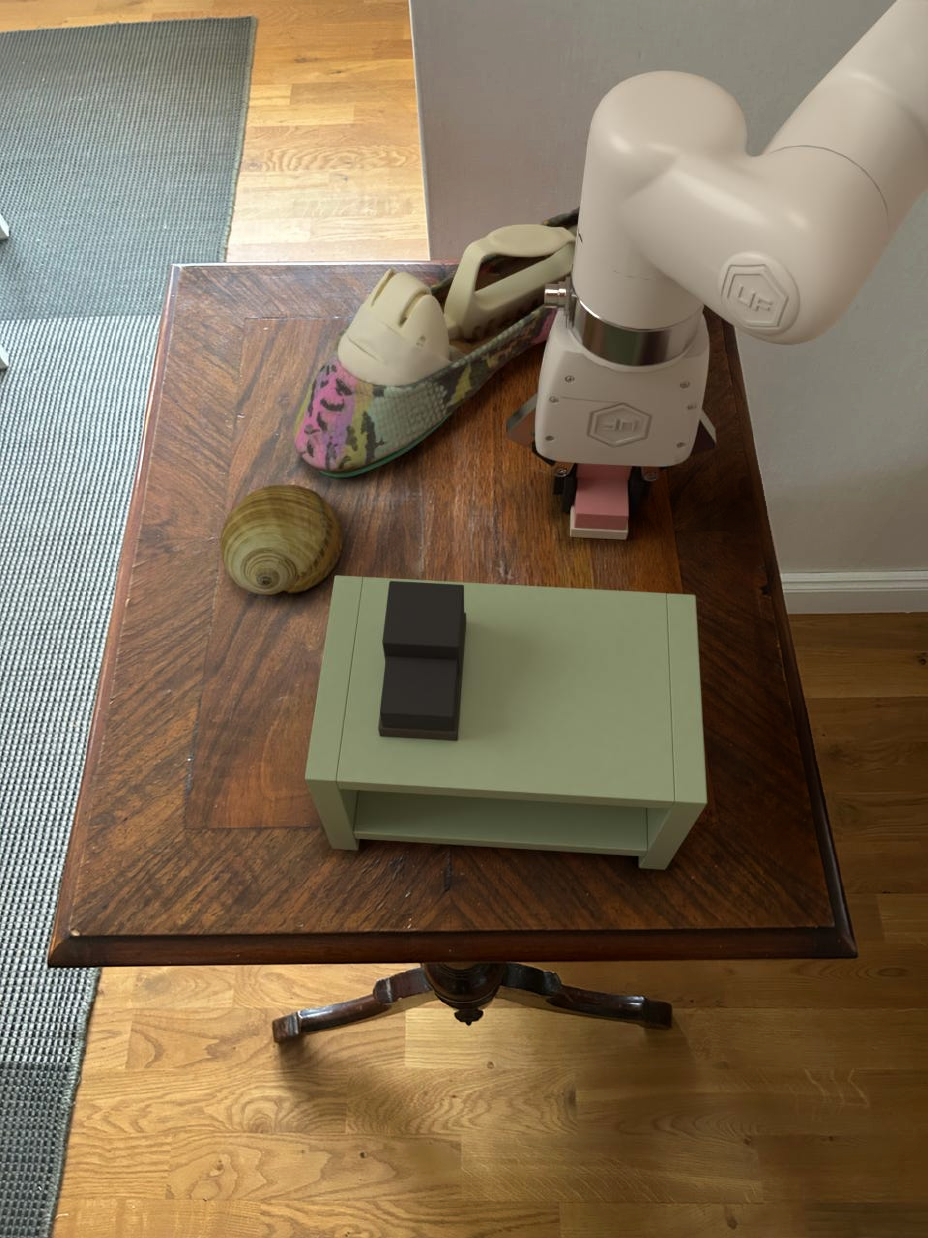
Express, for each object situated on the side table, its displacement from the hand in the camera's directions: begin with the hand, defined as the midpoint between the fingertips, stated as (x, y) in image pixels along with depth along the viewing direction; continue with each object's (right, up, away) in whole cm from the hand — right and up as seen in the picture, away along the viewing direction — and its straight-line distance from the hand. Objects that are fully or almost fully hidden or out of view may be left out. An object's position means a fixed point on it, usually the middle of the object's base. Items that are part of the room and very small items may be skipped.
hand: (598, 496), depth 73 cm
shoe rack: (-7, -18, -10) cm, 22 cm away
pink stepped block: (0, 0, 0) cm, 0 cm away
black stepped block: (-12, -12, -20) cm, 26 cm away
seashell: (-22, -4, -2) cm, 23 cm away
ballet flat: (-10, +10, +6) cm, 16 cm away
